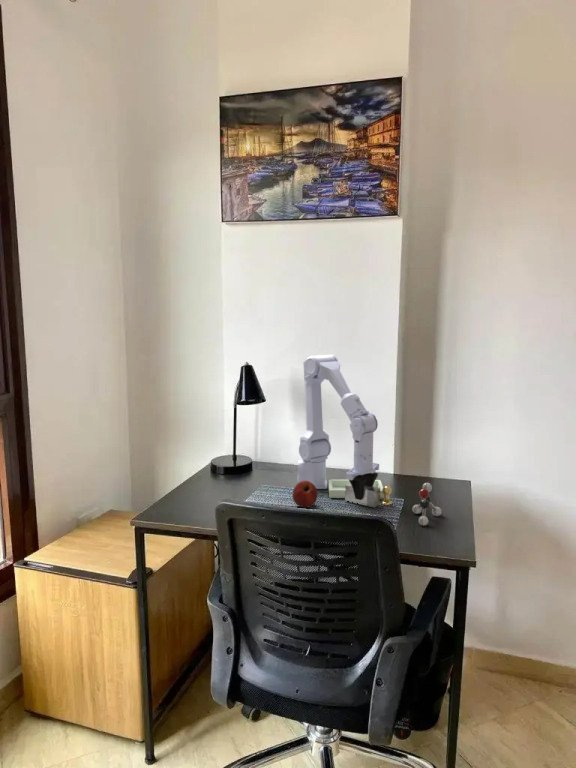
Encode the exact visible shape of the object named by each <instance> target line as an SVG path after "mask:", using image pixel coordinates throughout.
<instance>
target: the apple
mask: <svg viewBox="0 0 576 768" xmlns="http://www.w3.org/2000/svg"><path fill="white" fill-rule="evenodd" d="M317 499H318V489H316V487H315V486H314V484H312V483H311V482H309V481H301V482H299V483H298V482H297V484H296V485H295V486H294V489H293V491H292V500H293V502H294V503H295V504H296V505H297V506H299V507H301V508H310V507H312V506H313V505H314V504H315V503H316V501H317Z"/></svg>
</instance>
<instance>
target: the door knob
mask: <svg viewBox="0 0 576 768" xmlns="http://www.w3.org/2000/svg"><path fill="white" fill-rule="evenodd" d="M382 492H383V494H384V499H383V500H382V501H381V505H382V504H384V505H383V506H386V505H389V506H391V505H392V501H391V500H390V495H391V494H392V488H391V486H390V485H385V486H384V485H383V489H382ZM390 504H391V505H390Z"/></svg>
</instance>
